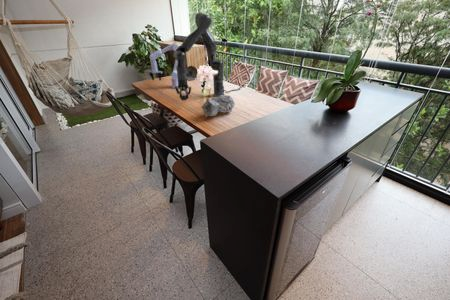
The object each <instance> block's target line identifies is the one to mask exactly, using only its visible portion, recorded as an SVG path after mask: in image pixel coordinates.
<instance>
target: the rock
mask: <svg viewBox="0 0 450 300" xmlns="http://www.w3.org/2000/svg"><path fill="white" fill-rule="evenodd" d="M235 106H236V104H235V100H234V99H233V98H232V96H230V95H223V96H221V97H215V96H214V97H212V98H209V97H207V99H206V100H205V102H204V103H203V104H202V106H201V107H200V108H201V110H202V112H203V115H204V116H205V118H207V117H215V116H217V115H218V113H225V114H227V113H228V114H230V113H231V112H232V111H233V109H234V107H235Z"/></svg>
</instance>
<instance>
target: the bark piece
mask: <svg viewBox="0 0 450 300" xmlns="http://www.w3.org/2000/svg"><path fill="white" fill-rule="evenodd" d="M185 68H186V75H187V81H193V80H195V79H197V78H198V72H197V70H198V69H197V67H196V66H193V65H189V66H185Z"/></svg>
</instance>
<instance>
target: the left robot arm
mask: <svg viewBox="0 0 450 300" xmlns="http://www.w3.org/2000/svg"><path fill="white" fill-rule="evenodd" d="M179 46H180V45H178V44H177V43H176V42H173V43H171V44H168V45H167V46H165V47H164V48H162V49H156V51H154V52H152V53H151V54H149V60H150V66H151V70H148V71H147V72H148V74H149V76H150V78H151V80H152V81H154V80H155V77H154V74H157V76H158V80H159V81H162V75H163V71H162V70H159V69H158V64H157V63H158V62H157V61H156V59H158V58H160V57H163V54H165V53H167V52H168V51H173V52H175V51H176V49H177V48H178V47H179ZM177 65H178V61H177V60H176V59H174V65H173V70H172V72H171V74H170V76H171V89H172V90H173V89H175V87H176V86H178V79H177V68H176V66H177Z"/></svg>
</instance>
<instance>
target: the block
mask: <svg viewBox="0 0 450 300" xmlns="http://www.w3.org/2000/svg"><path fill="white" fill-rule="evenodd" d="M187 100H188V99H187V98H186V93H181V98H180V101H187Z"/></svg>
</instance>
